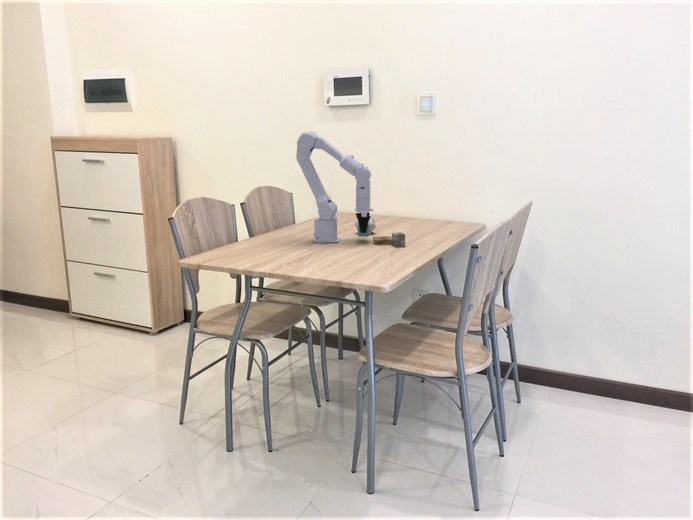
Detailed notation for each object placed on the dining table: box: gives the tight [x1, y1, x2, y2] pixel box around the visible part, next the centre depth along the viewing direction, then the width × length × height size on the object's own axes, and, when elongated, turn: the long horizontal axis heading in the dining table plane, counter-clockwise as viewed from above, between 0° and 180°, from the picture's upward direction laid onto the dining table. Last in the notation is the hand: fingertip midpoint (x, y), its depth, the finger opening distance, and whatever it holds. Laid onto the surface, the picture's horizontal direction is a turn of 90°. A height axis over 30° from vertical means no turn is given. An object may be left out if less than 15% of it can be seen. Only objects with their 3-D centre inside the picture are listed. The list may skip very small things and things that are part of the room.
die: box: [354, 215, 377, 236], centre depth 249 cm, size 8×9×10 cm
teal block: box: [357, 223, 370, 238], centre depth 233 cm, size 4×4×5 cm
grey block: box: [391, 231, 406, 248], centre depth 225 cm, size 4×4×5 cm
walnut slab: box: [372, 235, 392, 246], centre depth 231 cm, size 7×7×2 cm
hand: (362, 231), depth 233 cm, fingers closed on teal block, 4 cm apart
